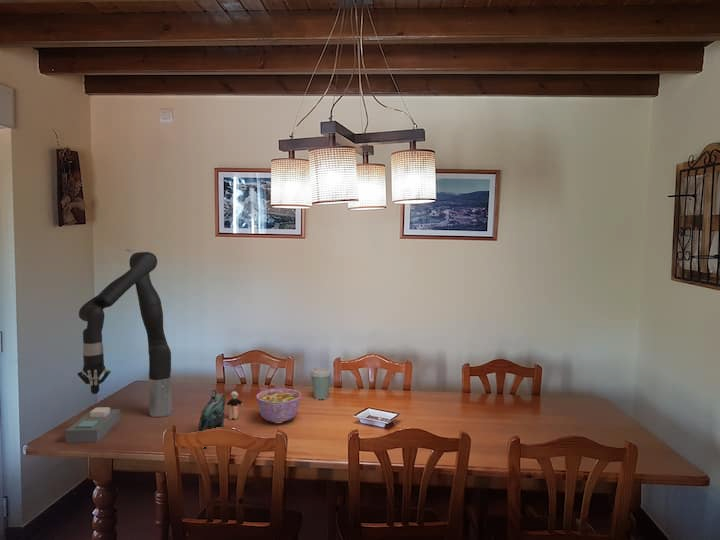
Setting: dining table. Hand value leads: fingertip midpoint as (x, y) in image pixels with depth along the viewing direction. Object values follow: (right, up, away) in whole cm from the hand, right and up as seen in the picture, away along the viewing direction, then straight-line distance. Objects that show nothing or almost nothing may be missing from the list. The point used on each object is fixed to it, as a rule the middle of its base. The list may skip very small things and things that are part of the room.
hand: (95, 393), depth 217 cm
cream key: (-2, -12, +8) cm, 14 cm away
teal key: (-1, -14, -4) cm, 15 cm away
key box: (-1, -16, +2) cm, 16 cm away
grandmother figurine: (+53, -16, +19) cm, 59 cm away
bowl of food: (+74, -17, +19) cm, 78 cm away
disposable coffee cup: (+90, -15, +50) cm, 104 cm away
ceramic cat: (+50, -18, -4) cm, 54 cm away
